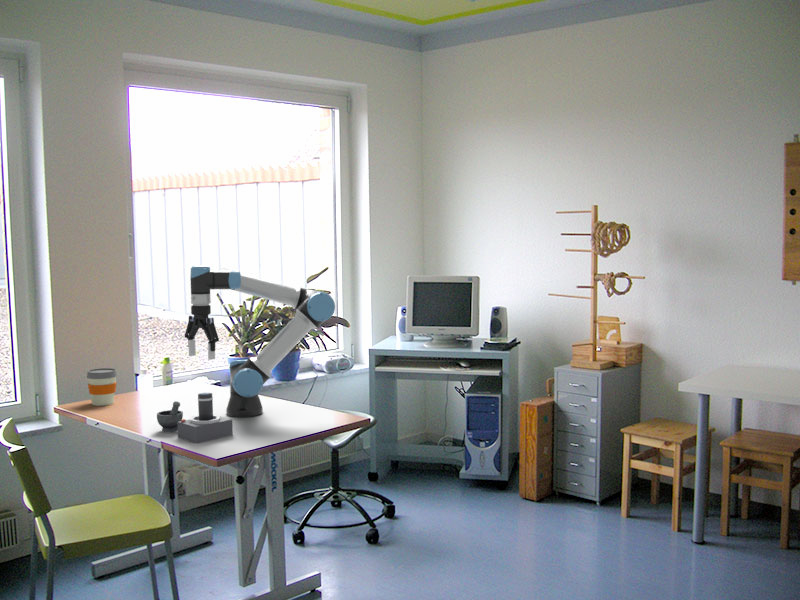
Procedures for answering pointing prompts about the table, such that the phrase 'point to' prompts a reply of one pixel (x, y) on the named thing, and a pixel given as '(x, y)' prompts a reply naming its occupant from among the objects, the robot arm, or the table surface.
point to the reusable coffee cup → (102, 385)
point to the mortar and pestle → (170, 418)
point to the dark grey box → (204, 429)
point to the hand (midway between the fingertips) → (201, 357)
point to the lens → (205, 406)
